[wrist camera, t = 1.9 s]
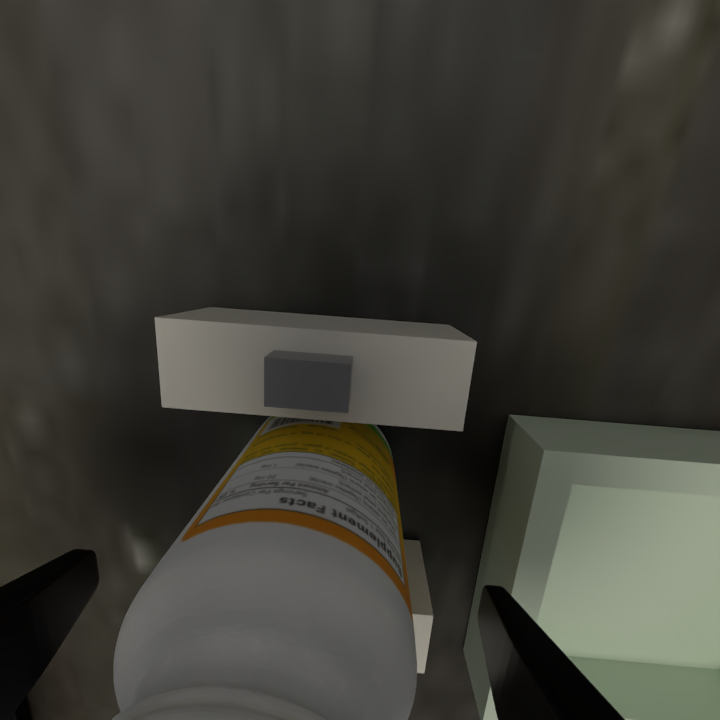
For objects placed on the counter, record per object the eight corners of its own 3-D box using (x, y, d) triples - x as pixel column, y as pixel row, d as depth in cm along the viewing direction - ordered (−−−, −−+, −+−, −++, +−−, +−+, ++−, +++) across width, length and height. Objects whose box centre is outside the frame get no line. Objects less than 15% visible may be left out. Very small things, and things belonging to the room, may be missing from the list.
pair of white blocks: (413, 589, 14) (428, 704, 10) (221, 572, 14) (166, 679, 10) (449, 324, 11) (488, 348, 7) (211, 306, 11) (131, 321, 7)
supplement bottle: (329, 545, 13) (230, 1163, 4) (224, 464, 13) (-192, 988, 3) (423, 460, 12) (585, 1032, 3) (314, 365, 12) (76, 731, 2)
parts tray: (720, 673, 14) (792, 755, 12) (463, 649, 14) (481, 724, 12) (826, 439, 12) (947, 482, 9) (508, 414, 12) (544, 450, 9)
